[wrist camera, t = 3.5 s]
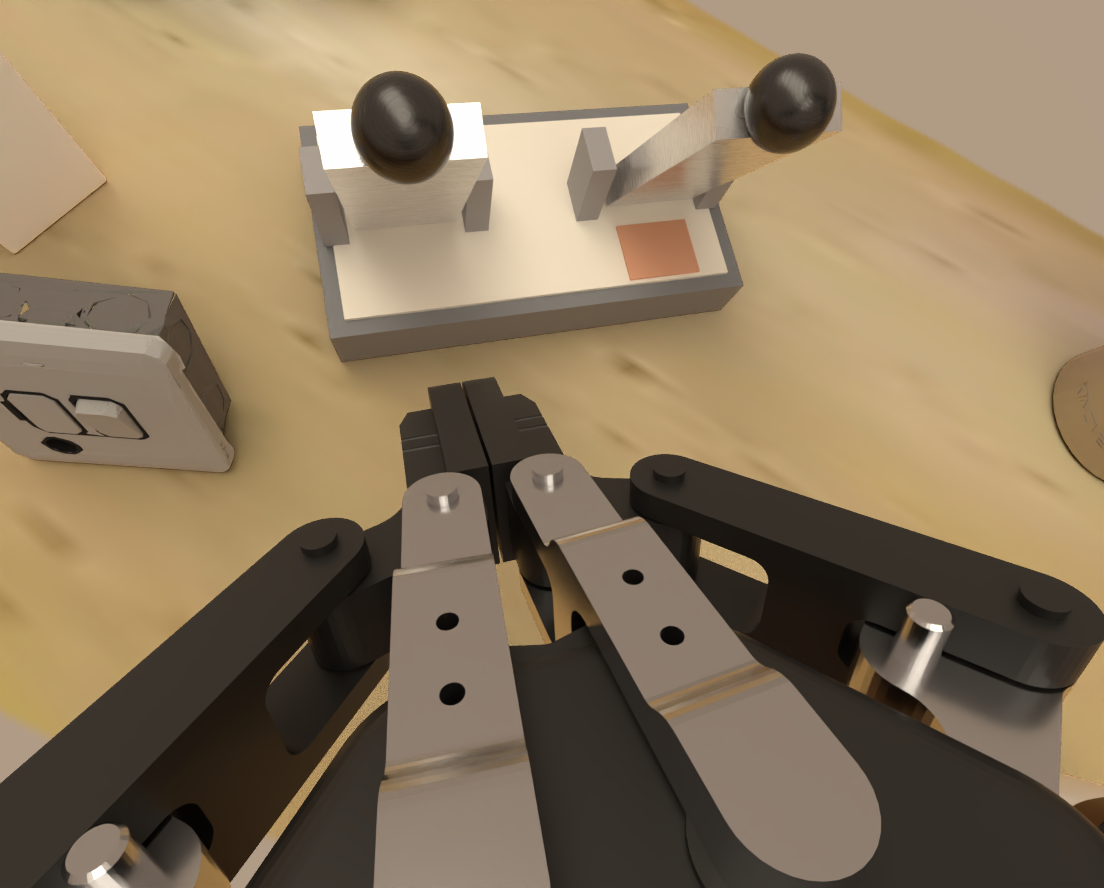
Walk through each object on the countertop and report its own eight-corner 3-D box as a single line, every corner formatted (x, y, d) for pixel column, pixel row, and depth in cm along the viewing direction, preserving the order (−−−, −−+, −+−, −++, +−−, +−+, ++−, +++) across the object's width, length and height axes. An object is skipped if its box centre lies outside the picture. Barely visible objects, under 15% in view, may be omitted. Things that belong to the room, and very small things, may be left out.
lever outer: (449, 173, 30) (484, 48, 17) (459, 235, 31) (500, 164, 17) (346, 181, 29) (295, 55, 16) (358, 245, 30) (319, 178, 16)
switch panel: (669, 139, 39) (717, 40, 32) (720, 309, 36) (783, 242, 29) (311, 166, 34) (276, 57, 27) (341, 362, 32) (310, 296, 25)
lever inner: (688, 154, 33) (883, 33, 19) (692, 212, 33) (884, 134, 20) (600, 161, 32) (743, 38, 18) (606, 220, 32) (749, 145, 19)
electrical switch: (24, 461, 28) (-162, 373, 20) (58, 362, 30) (-99, 242, 21) (237, 475, 30) (151, 400, 21) (257, 380, 31) (186, 274, 23)
